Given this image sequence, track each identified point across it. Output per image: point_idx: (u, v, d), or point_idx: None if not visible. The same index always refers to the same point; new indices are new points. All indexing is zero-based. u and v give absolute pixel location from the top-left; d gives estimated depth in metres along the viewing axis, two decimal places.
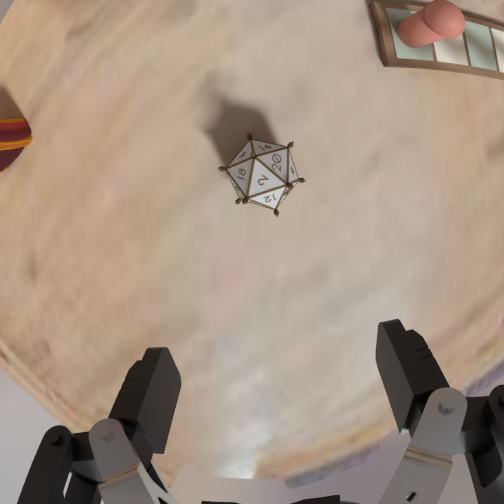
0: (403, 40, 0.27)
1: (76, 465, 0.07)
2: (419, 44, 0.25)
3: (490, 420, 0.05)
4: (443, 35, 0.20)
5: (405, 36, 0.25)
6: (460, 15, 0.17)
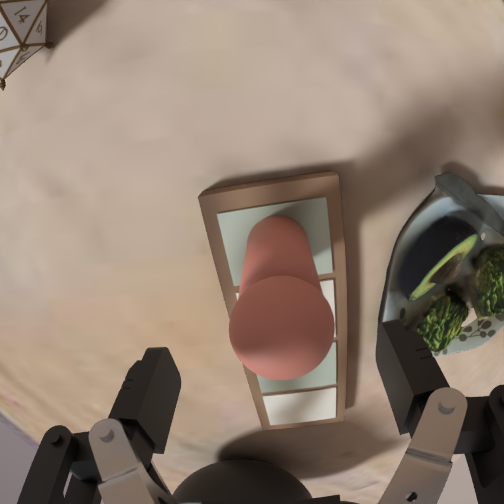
0: (255, 227, 0.20)
1: (76, 465, 0.07)
2: None
3: (490, 420, 0.05)
4: None
5: (258, 231, 0.18)
6: (286, 375, 0.11)
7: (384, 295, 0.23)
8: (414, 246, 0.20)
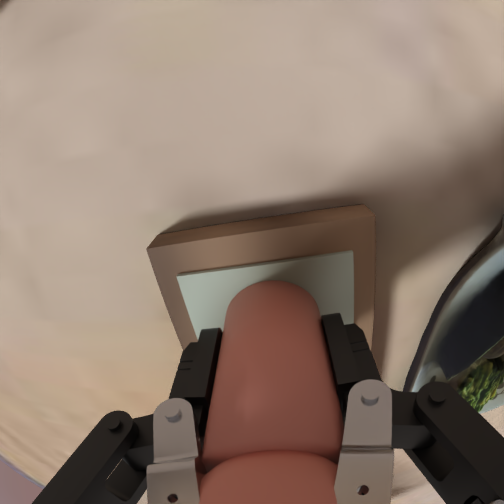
0: (236, 299, 0.12)
1: (129, 455, 0.07)
2: None
3: (424, 421, 0.06)
4: None
5: (241, 315, 0.11)
6: None
7: (415, 368, 0.16)
8: (466, 312, 0.13)
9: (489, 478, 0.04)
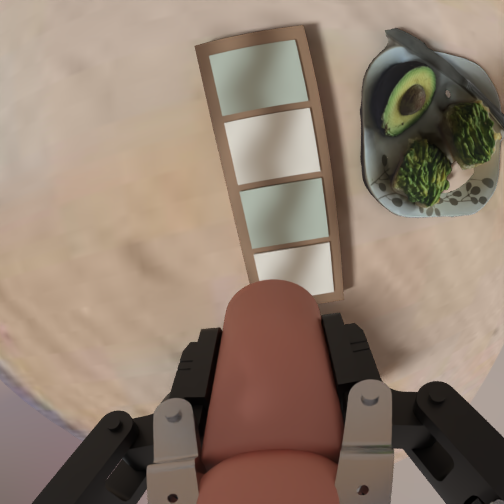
0: (236, 298, 0.12)
1: (129, 455, 0.07)
2: None
3: (425, 421, 0.06)
4: None
5: (241, 314, 0.11)
6: None
7: (361, 133, 0.24)
8: (378, 82, 0.21)
9: (489, 478, 0.04)
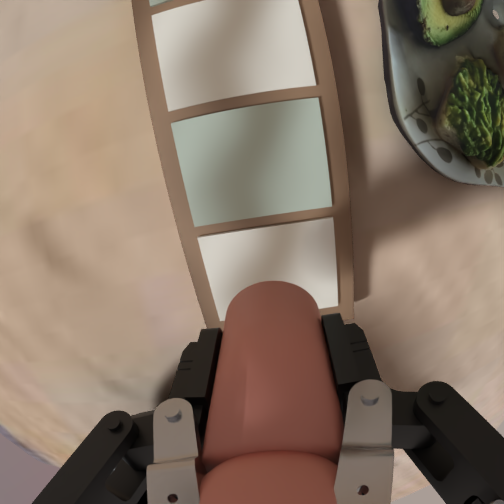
0: (237, 299, 0.12)
1: (129, 455, 0.07)
2: None
3: (424, 421, 0.06)
4: None
5: (241, 315, 0.11)
6: None
7: (384, 37, 0.12)
8: None
9: (489, 478, 0.04)
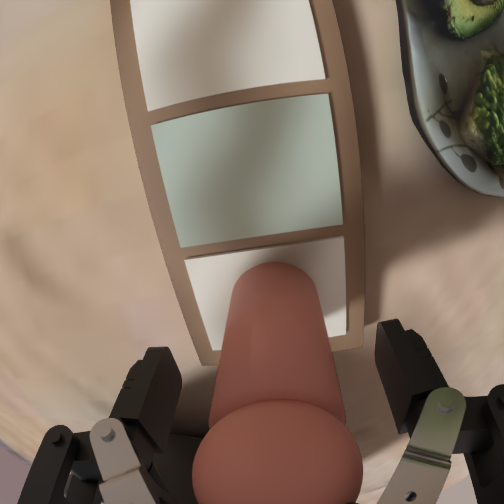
0: (242, 279, 0.13)
1: (77, 465, 0.07)
2: None
3: (489, 420, 0.05)
4: (193, 464, 0.06)
5: (246, 290, 0.12)
6: None
7: (402, 25, 0.10)
8: None
9: None
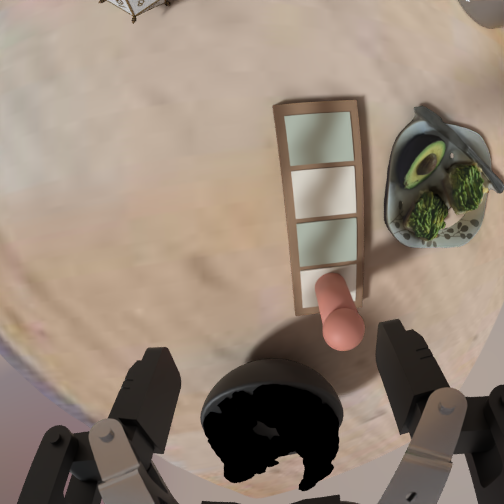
0: (321, 278, 0.37)
1: (76, 465, 0.07)
2: (317, 295, 0.36)
3: (490, 420, 0.05)
4: (324, 325, 0.30)
5: (325, 282, 0.35)
6: (347, 347, 0.28)
7: (387, 185, 0.33)
8: (404, 148, 0.30)
9: None
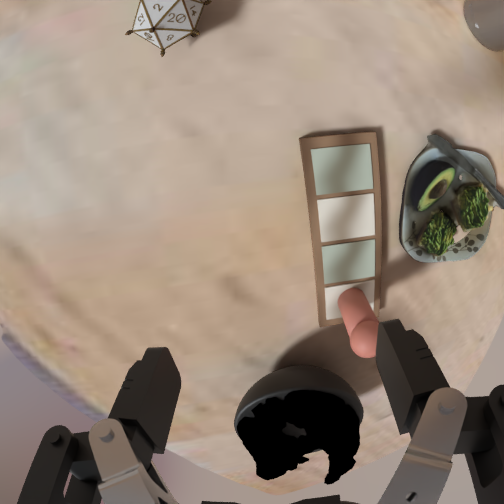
0: (343, 293, 0.40)
1: (76, 465, 0.07)
2: (341, 309, 0.39)
3: (490, 420, 0.05)
4: (351, 337, 0.33)
5: (348, 297, 0.39)
6: (372, 355, 0.31)
7: (402, 208, 0.36)
8: (418, 175, 0.33)
9: None
